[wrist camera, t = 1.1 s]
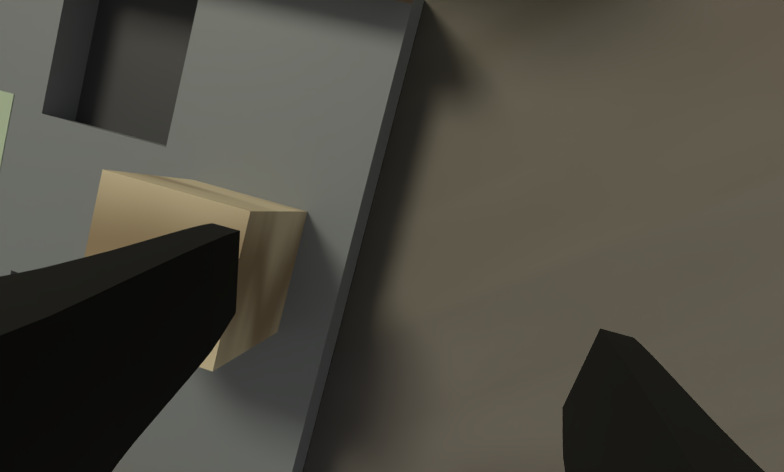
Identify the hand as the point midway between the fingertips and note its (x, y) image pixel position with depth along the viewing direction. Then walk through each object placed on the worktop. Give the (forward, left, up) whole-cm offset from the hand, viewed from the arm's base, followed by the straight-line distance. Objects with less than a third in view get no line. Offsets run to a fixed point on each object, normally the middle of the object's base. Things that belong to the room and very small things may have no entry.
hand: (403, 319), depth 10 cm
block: (-2, +8, -9) cm, 12 cm away
